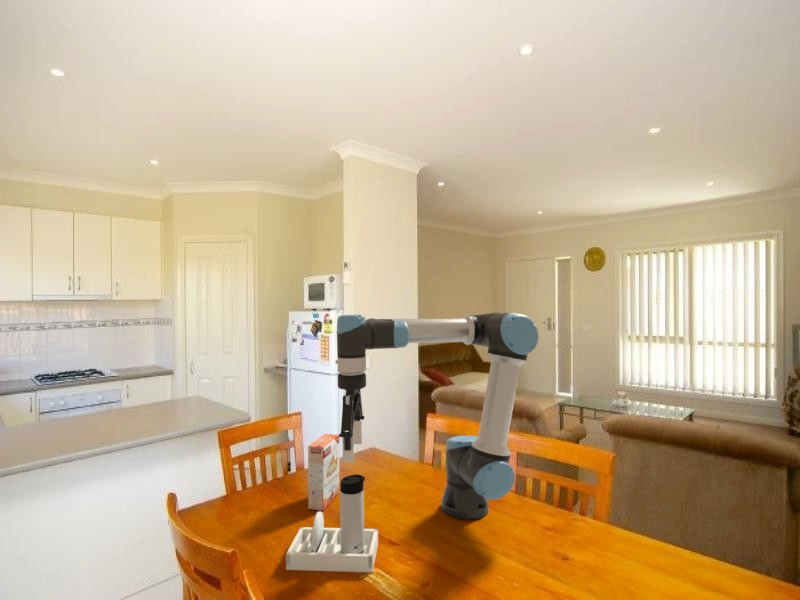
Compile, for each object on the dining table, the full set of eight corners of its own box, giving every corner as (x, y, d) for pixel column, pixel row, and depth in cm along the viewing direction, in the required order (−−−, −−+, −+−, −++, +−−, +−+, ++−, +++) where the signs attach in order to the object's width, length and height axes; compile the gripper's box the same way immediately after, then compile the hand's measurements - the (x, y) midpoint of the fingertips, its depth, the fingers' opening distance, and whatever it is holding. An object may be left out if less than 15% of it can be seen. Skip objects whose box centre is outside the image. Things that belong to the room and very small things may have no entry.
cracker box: (324, 512, 140) (323, 447, 140) (307, 510, 141) (306, 445, 141) (340, 493, 154) (340, 433, 154) (324, 491, 155) (324, 432, 155)
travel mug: (361, 560, 112) (361, 482, 112) (337, 557, 113) (336, 480, 113) (368, 546, 118) (367, 473, 118) (345, 544, 119) (344, 471, 119)
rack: (378, 543, 122) (377, 503, 122) (372, 572, 109) (372, 527, 109) (301, 541, 123) (300, 501, 123) (286, 569, 110) (285, 525, 110)
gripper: (346, 365, 128) (347, 437, 128) (327, 381, 103) (328, 470, 103) (371, 365, 128) (372, 437, 128) (358, 381, 103) (359, 471, 103)
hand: (352, 452), depth 116 cm, fingers open, 13 cm apart
